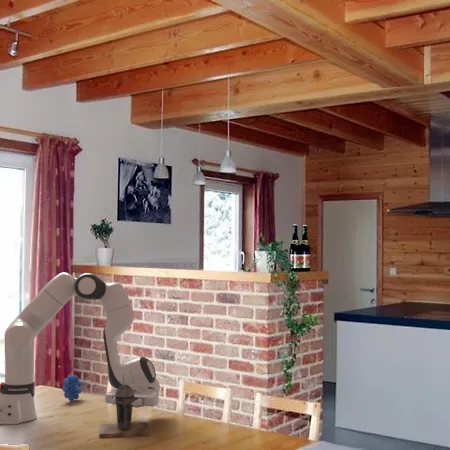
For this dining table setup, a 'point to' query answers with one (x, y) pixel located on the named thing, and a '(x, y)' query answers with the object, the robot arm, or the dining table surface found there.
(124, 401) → the beverage cup
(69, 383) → the grapes
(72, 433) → the dining table surface
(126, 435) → the walnut board
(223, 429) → the dining table surface
